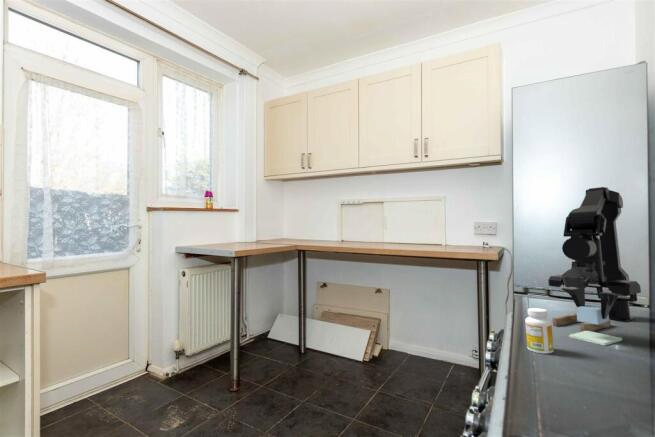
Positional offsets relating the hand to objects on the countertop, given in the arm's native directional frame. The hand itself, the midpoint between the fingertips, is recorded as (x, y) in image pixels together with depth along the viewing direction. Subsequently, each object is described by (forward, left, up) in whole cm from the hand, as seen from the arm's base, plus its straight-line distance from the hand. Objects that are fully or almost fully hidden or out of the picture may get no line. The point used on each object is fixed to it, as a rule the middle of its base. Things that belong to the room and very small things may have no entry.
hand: (593, 316), depth 85 cm
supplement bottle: (+20, -1, -6) cm, 21 cm away
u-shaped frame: (-10, -8, -6) cm, 14 cm away
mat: (0, 0, -6) cm, 6 cm away
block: (0, 0, -1) cm, 1 cm away
